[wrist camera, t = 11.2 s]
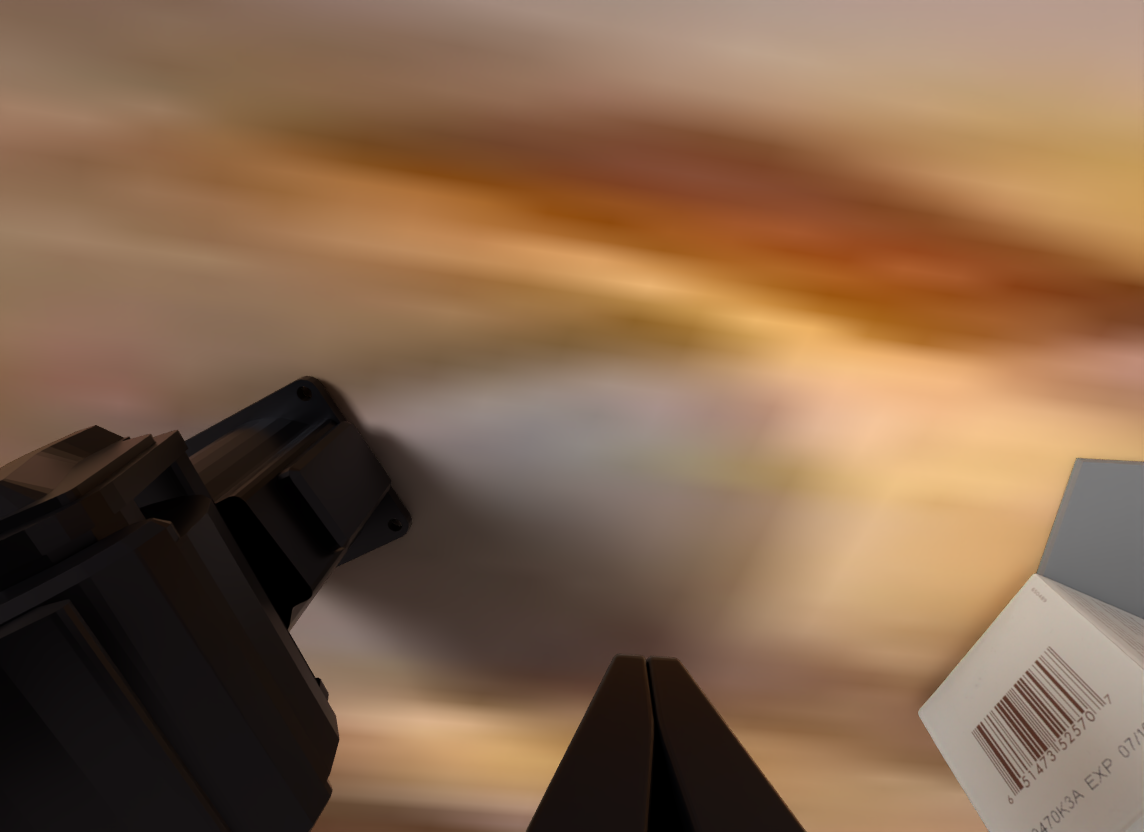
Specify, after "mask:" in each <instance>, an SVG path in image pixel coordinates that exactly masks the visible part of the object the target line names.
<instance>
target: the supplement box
mask: <svg viewBox="0 0 1144 832" xmlns="http://www.w3.org/2000/svg"><path fill="white" fill-rule="evenodd" d="M918 714H919V717H920V719H921V720H922V722H923V724H924V726H925V727H926V729H927V731H928V732H929V734H930V736H931V737H932V739H933V741H934V743H935V744H936V746H937V747H938V749H939V751H940V752H941V754H942V756H943V758H944V759H945V761H946V762H947V764H948V766H949V767H950V769H951V771H952V772H953V774H954V775H955V777H956V779H957V780H958V782H959V784H960V785H961V787H962V789H963V790H964V792H965V793H966V795H967V797H968V798H969V800H970V802H971V803H972V805H973V807H974V808H975V810H976V811H977V813H978V815H979V816H980V818H981V820H982V821H983V823H984V824H985V826H986V828H987V829H988V831H989V832H1144V619H1142V618H1139V617H1137V616H1135V615H1132V614H1130V613H1128V612H1126V611H1123V610H1121V609H1119V608H1116V607H1114V606H1112V605H1109V604H1107V603H1104V602H1102V601H1100V600H1098V599H1095V598H1093V597H1091V596H1088V595H1086V594H1084V593H1081V592H1079V591H1077V590H1074V589H1072V588H1070V587H1067V586H1065V585H1063V584H1060V583H1058V582H1056V581H1053V580H1051V579H1049V578H1046V577H1044V576H1041V575H1039V574H1033V575H1032V576H1031V577H1030V578H1029V579H1028V580H1027V582H1026V583H1025V584H1024V586H1023V587H1022V588H1021V589H1020V590H1019V592H1018V593H1017V594H1016V595H1015V596H1014V597H1013V598H1012V600H1011V601H1010V602H1009V603H1008V605H1007V606H1006V607H1005V608H1004V609H1003V611H1002V612H1001V613H1000V614H999V615H998V617H997V618H996V619H995V620H994V622H993V623H992V624H991V625H990V626H989V628H988V629H987V630H986V631H985V632H984V634H983V635H982V636H981V637H980V638H979V640H978V641H977V642H976V643H975V644H974V646H973V647H972V648H971V649H970V650H969V651H968V653H967V654H966V655H965V656H964V657H963V659H962V660H961V661H960V662H959V663H958V665H957V666H956V667H955V668H954V669H953V671H952V672H951V673H950V674H949V675H948V677H947V678H946V679H945V680H944V681H943V683H942V684H941V685H940V686H939V687H938V689H937V690H936V691H935V692H934V693H933V694H932V696H931V697H930V698H929V699H928V700H927V701H926V702H925V704H924V705H923V706H922V707H921V708H920V709H919V712H918Z"/></svg>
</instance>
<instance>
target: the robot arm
mask: <svg viewBox="0 0 1144 832" xmlns="http://www.w3.org/2000/svg"><path fill="white" fill-rule="evenodd" d="M303 386H304V387H307V388H309V389H310V390H311V393H312V397H307V396H306V395H305V394H304V393H303V391H302V388H303ZM391 519H397V520H399V521H400V522H401V524H402V525H401V526H398V525H395V524H394V523H393V522H392V520H391ZM411 524H412V518H411V516H410V514H409V512H408V511H407V509H406V508H405V506H404V505H403V503H402V502H401V500H400V499H399V497H398V496H397V494H396V493H395V491H394V490H393V488H392V487H391V479H390V478H389V476H388V475H387V473H386V472H385V470H384V469H383V467H382V466H381V465H380V463H379V462H378V460H377V459H376V457H375V456H374V454H373V453H372V451H371V450H370V448H369V447H368V445H367V444H366V442H365V441H364V439H363V438H362V436H361V435H360V433H359V432H358V430H357V429H356V427H355V426H354V425H353V424H352V423H349V422H347V420H346V419H345V417H344V416H343V415H342V413H341V412H340V410H339V409H338V407H337V406H336V404H335V403H334V401H333V400H332V398H331V397H330V395H329V394H328V392H327V391H326V389H325V388H324V386H323V385H322V384H321V383H320V381H319V380H318V379H316V378H314V377H311V376H304V377H301V378H299V379H297V380H296V381H294V382H292V383H290V384H288V385H286V386H285V387H283V388H281V389H279V390H277V391H275V392H274V393H272V394H270V395H268V396H266V397H264V398H263V399H261V400H259V401H257V402H255V403H253V404H252V405H250V406H248V407H246V408H244V409H243V410H241V411H239V412H237V413H235V414H233V415H232V416H230V417H228V418H226V419H224V420H222V421H221V422H219V423H217V424H215V425H213V426H211V427H210V428H208V429H206V430H204V431H202V432H200V433H199V434H197V435H195V436H193V437H191V438H189V439H188V440H186V441H184V440H183V438H182V436H181V434H180V433H179V431H178V430H174V431H171V432H168V433H165V434H162V435H159V436H155V437H153V436H152V435H151V434H147V435H143V436H140V437H136V438H132V439H130V437H125V438H123V437H121V436H119V435H117V434H114V433H112V432H110V431H108V430H106V429H103V428H101V427H99V426H97V425H95V426H92V427H89V428H86V429H83V430H80V431H77V432H74V433H72V434H70V435H68V436H65V437H63V438H61V439H59V440H57V441H54V442H52V443H50V444H48V445H45V446H43V447H41V448H39V449H37V450H34V451H32V452H30V453H28V454H26V455H24V456H22V457H20V458H18V459H16V460H14V461H12V462H10V463H8V464H6V465H5V466H3V467H1V468H0V832H311V830H312V828H313V827H314V825H315V823H316V821H317V820H318V818H319V816H320V815H321V813H322V811H323V810H324V808H325V806H326V804H327V802H328V801H329V799H330V797H331V793H332V786H331V784H330V782H329V781H328V777H329V775H330V772H331V768H332V765H333V761H334V757H335V754H336V750H337V746H338V743H339V733H338V727H337V720H336V715H335V713H334V712H333V710H332V708H331V706H330V705H329V703H328V695H329V694H328V691H327V690H326V688H325V686H324V684H323V683H322V681H321V679H320V678H315V676H314V675H313V673H312V671H311V669H310V668H309V666H308V664H307V662H306V661H305V659H304V657H303V655H302V654H301V652H300V650H299V648H298V647H297V645H296V643H295V642H294V640H293V638H292V636H291V635H290V633H289V632H290V630H291V629H292V627H293V626H294V625H295V623H296V622H297V620H298V619H299V618H300V616H301V615H302V613H303V612H304V611H305V609H306V608H307V607H308V605H309V604H310V602H311V601H312V600H313V598H314V597H315V595H316V594H317V593H318V591H319V590H320V588H321V587H322V586H323V584H324V583H325V581H326V580H327V579H328V577H329V576H330V574H331V573H332V572H333V570H334V569H335V567H337V566H339V565H341V564H344V563H346V562H348V561H350V560H352V559H354V558H357V557H359V556H361V555H363V554H365V553H367V552H370V551H372V550H374V549H376V548H378V547H380V546H382V545H385V544H387V543H389V542H391V541H393V540H395V539H398V538H400V537H402V536H403V535H405V534H406V533H407V531H408V530H409V528H410V526H411ZM526 832H806V831H805V829H804V828H803V827H802V825H801V824H800V823H799V821H798V820H797V819H796V817H795V816H794V814H793V813H792V812H791V810H790V809H789V808H788V806H787V805H786V804H785V802H784V801H783V800H782V798H781V797H780V796H779V794H778V793H777V791H776V790H775V789H774V787H773V786H772V785H771V783H770V782H769V781H768V779H767V778H766V777H765V775H764V774H763V773H762V771H761V770H760V768H759V767H758V766H757V764H756V763H755V762H754V760H753V759H752V758H751V756H750V755H749V754H748V752H747V751H746V750H745V748H744V747H743V745H742V744H741V743H740V741H739V740H738V739H737V737H736V736H735V735H734V733H733V732H732V731H731V729H730V728H729V727H728V725H727V724H726V722H725V721H724V720H723V718H722V717H721V716H720V714H719V713H718V712H717V710H716V709H715V708H714V706H713V705H712V704H711V702H710V701H709V699H708V698H707V697H706V695H705V694H704V693H703V691H702V690H701V689H700V687H699V686H698V685H697V683H696V682H695V681H694V679H693V678H692V676H691V675H690V674H689V672H688V671H687V670H686V668H685V667H684V666H683V664H682V663H681V662H680V661H679V660H678V659H677V658H674V657H660V656H650V657H648V659H647V660H646V659H645V657H643V656H642V655H630V654H617V655H615V656H614V658H613V659H612V661H611V663H610V665H609V667H608V669H607V671H606V673H605V675H604V677H603V679H602V681H601V683H600V685H599V687H598V689H597V691H596V693H595V695H594V697H593V699H592V701H591V703H590V705H589V707H588V709H587V711H586V713H585V715H584V717H583V719H582V721H581V723H580V725H579V727H578V729H577V731H576V733H575V735H574V737H573V739H572V741H571V743H570V745H569V747H568V749H567V751H566V753H565V754H564V756H563V758H562V760H561V762H560V764H559V766H558V768H557V770H556V772H555V774H554V776H553V778H552V780H551V782H550V784H549V786H548V788H547V790H546V792H545V794H544V796H543V798H542V800H541V802H540V804H539V806H538V808H537V810H536V812H535V814H534V816H533V818H532V820H531V822H530V824H529V826H528V828H527V830H526Z"/></svg>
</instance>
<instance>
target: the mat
mask: <svg viewBox="0 0 1144 832" xmlns="http://www.w3.org/2000/svg"><path fill="white" fill-rule="evenodd" d="M1036 574H1039V575H1041V576H1044V577H1046V578H1049V579H1051V580H1053V581H1056V582H1058V583H1060V584H1063V585H1065V586H1067V587H1070V588H1072V589H1074V590H1077V591H1079V592H1081V593H1084V594H1086V595H1088V596H1091V597H1093V598H1095V599H1098V600H1100V601H1102V602H1104V603H1107V604H1109V605H1112V606H1114V607H1116V608H1119V609H1121V610H1123V611H1126V612H1128V613H1130V614H1132V615H1135V616H1137V617H1139V618H1142V619H1144V462H1138V461H1120V460H1101V459H1083V458H1076V461H1075V464H1074V467H1073V470H1072V472H1071V475H1070V478H1069V481H1068V484H1067V487H1066V490H1065V493H1064V495H1063V498H1062V501H1061V504H1060V507H1059V510H1058V513H1057V516H1056V518H1055V521H1054V524H1053V527H1052V530H1051V533H1050V536H1049V539H1048V541H1047V544H1046V547H1045V550H1044V553H1043V556H1042V559H1041V562H1040V565H1039V567H1038V570H1037V573H1036Z"/></svg>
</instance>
